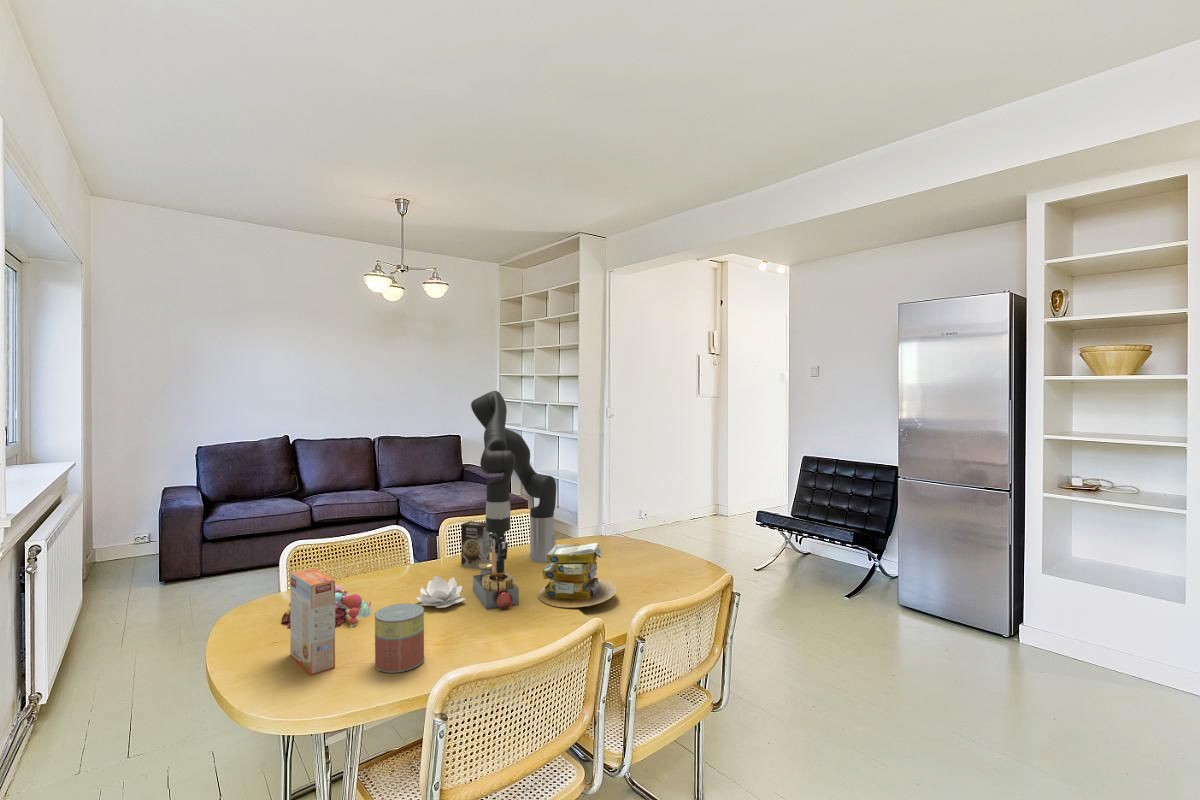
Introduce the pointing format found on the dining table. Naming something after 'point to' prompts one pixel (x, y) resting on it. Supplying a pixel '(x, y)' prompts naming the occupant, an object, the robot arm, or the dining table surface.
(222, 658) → the dining table surface
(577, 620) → the dining table surface
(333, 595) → the cracker box
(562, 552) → the stacked food boxes
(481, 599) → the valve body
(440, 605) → the lotus flower
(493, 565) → the copper pipe
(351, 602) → the candy landscape model
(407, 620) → the canned food
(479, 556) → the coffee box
